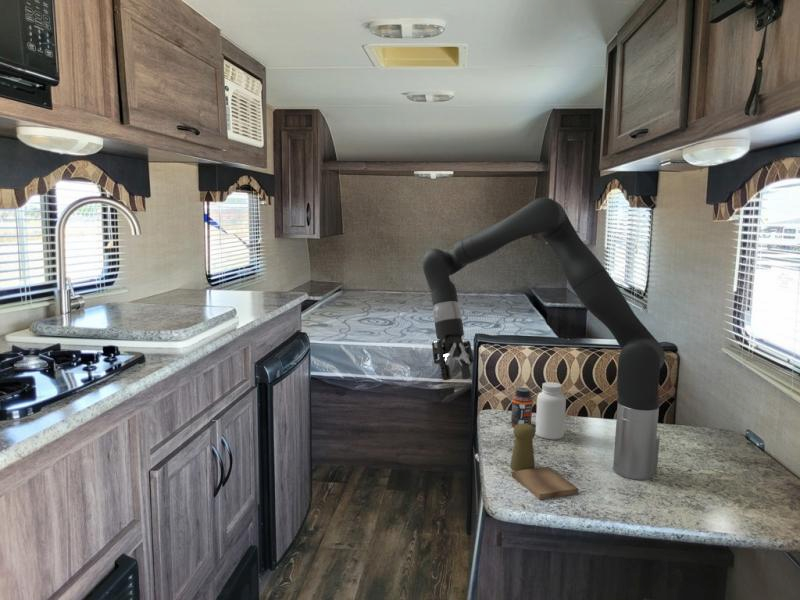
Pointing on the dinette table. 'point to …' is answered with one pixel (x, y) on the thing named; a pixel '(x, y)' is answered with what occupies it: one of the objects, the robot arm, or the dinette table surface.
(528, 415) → the supplement bottle
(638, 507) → the dinette table surface
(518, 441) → the cork
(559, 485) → the walnut board
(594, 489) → the dinette table surface
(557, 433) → the pill bottle
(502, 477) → the dinette table surface
